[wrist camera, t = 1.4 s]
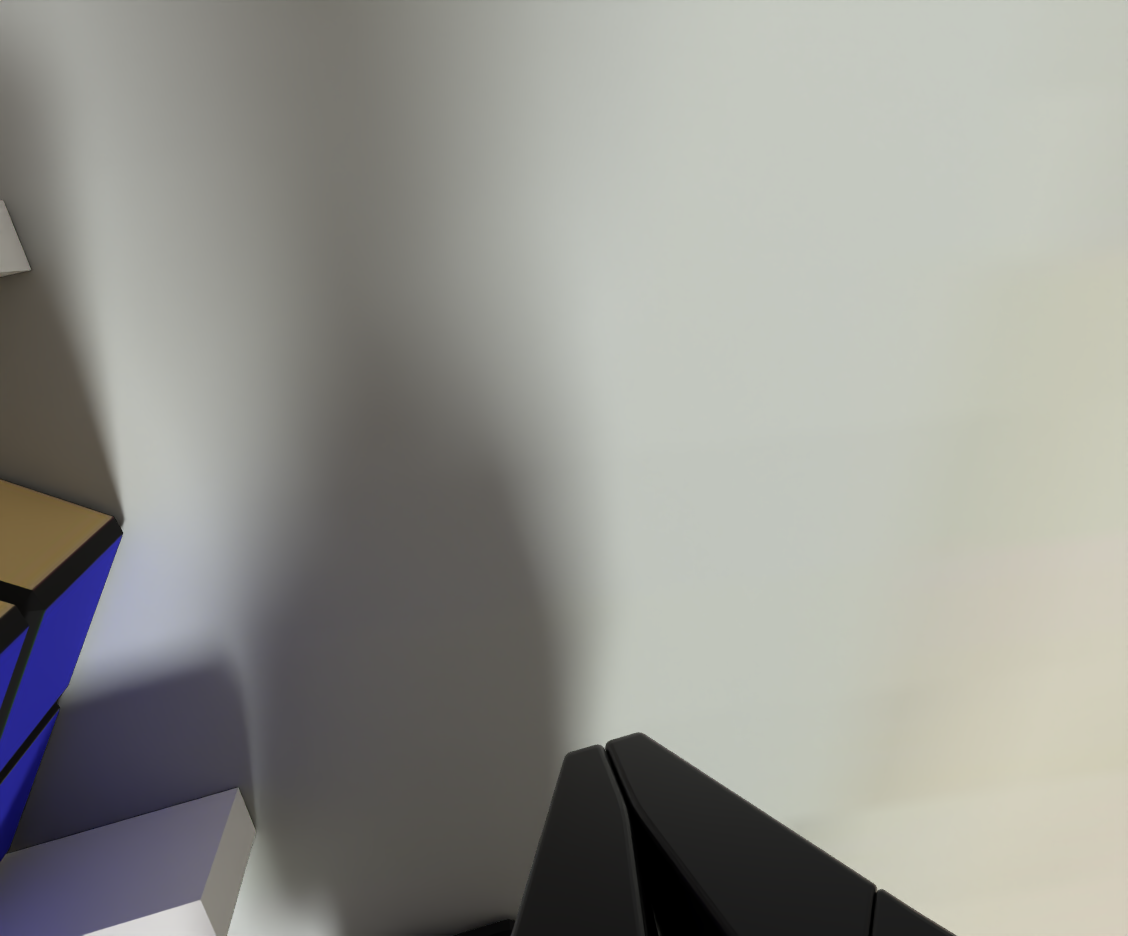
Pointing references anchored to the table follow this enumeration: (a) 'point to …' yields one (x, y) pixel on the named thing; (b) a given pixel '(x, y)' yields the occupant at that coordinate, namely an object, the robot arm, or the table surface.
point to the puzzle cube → (42, 624)
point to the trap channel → (128, 847)
